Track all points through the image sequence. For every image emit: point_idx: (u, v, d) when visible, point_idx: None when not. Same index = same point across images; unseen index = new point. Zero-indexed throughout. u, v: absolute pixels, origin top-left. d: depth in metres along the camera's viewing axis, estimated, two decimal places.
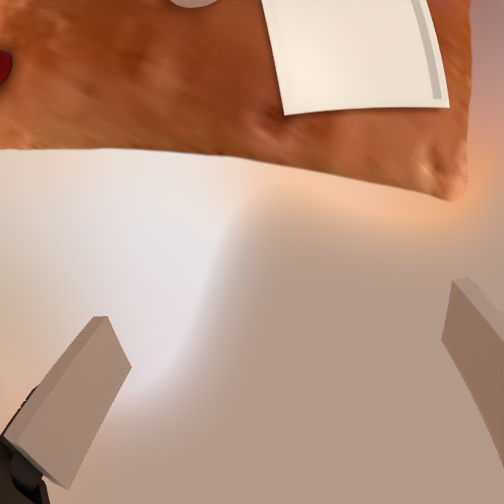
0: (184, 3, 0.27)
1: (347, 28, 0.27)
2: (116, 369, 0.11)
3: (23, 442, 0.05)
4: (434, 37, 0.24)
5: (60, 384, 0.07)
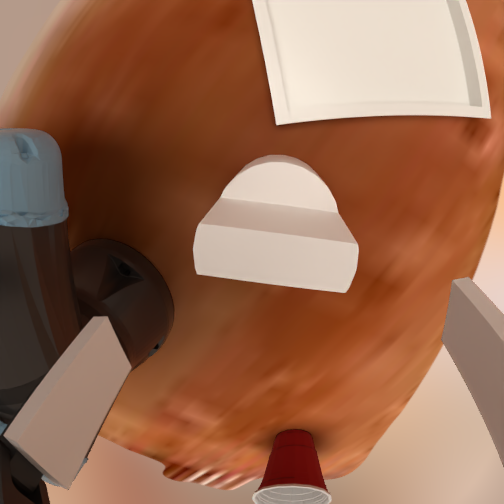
0: None
1: (369, 18, 0.19)
2: (116, 369, 0.11)
3: (23, 442, 0.05)
4: None
5: (60, 384, 0.07)
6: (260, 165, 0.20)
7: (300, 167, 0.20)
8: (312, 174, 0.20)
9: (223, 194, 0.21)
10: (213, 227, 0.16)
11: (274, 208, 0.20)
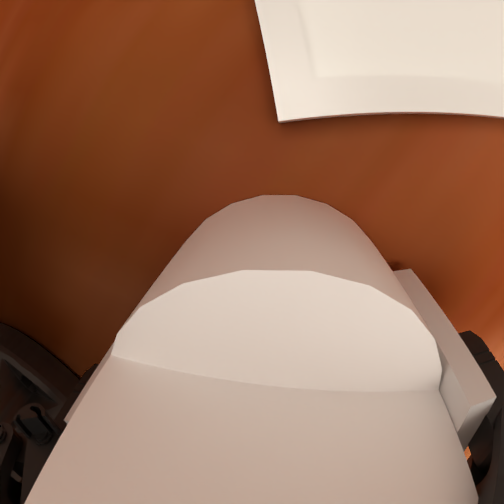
0: None
1: None
2: None
3: None
4: None
5: None
6: (216, 279, 0.06)
7: (364, 287, 0.05)
8: (399, 307, 0.05)
9: (116, 349, 0.07)
10: None
11: (266, 426, 0.05)
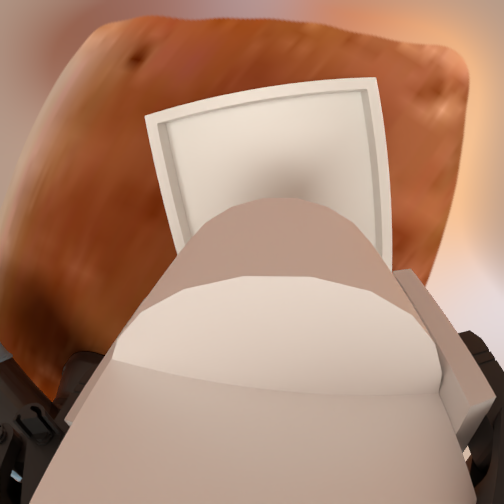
0: None
1: None
2: None
3: None
4: (271, 89, 0.22)
5: None
6: (216, 285, 0.06)
7: (365, 292, 0.05)
8: (400, 312, 0.05)
9: (117, 353, 0.07)
10: None
11: (265, 430, 0.05)
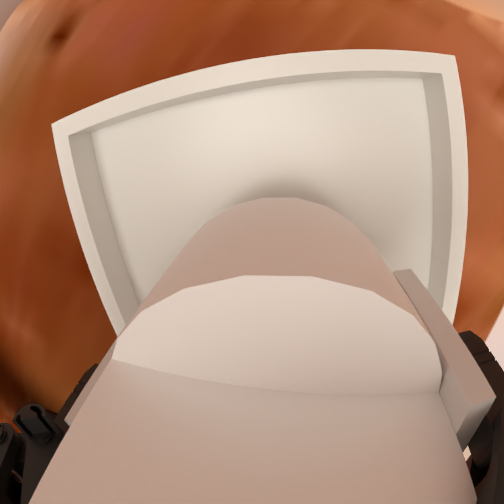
0: None
1: None
2: None
3: None
4: (265, 62, 0.11)
5: None
6: (216, 284, 0.06)
7: (365, 292, 0.05)
8: (400, 311, 0.05)
9: (117, 353, 0.07)
10: None
11: (266, 430, 0.05)
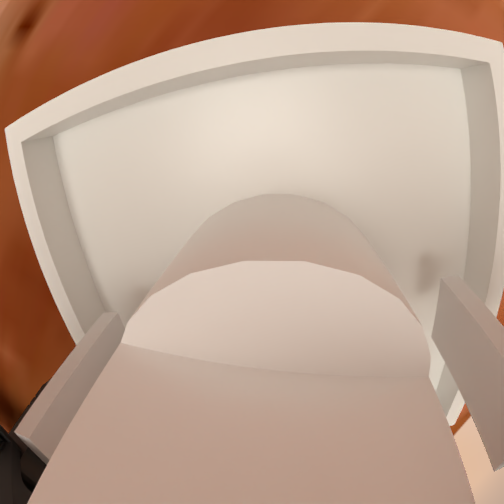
0: None
1: None
2: None
3: (35, 438, 0.05)
4: (264, 36, 0.07)
5: (72, 379, 0.08)
6: (220, 269, 0.06)
7: (354, 276, 0.06)
8: (387, 295, 0.06)
9: (126, 337, 0.07)
10: None
11: (265, 406, 0.06)
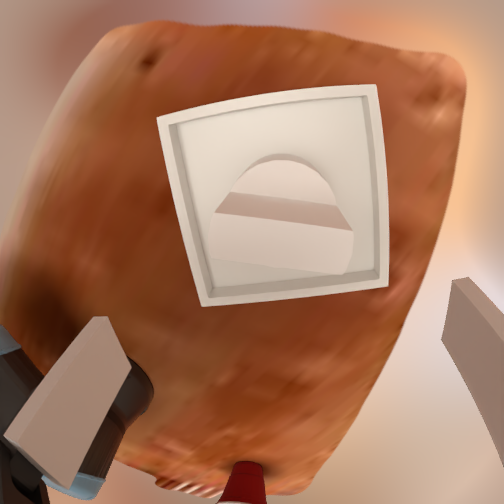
0: None
1: None
2: (116, 369, 0.11)
3: (23, 442, 0.05)
4: (276, 95, 0.24)
5: (60, 384, 0.07)
6: (266, 162, 0.23)
7: (302, 164, 0.22)
8: (313, 171, 0.23)
9: (233, 188, 0.24)
10: (226, 216, 0.18)
11: (279, 201, 0.23)
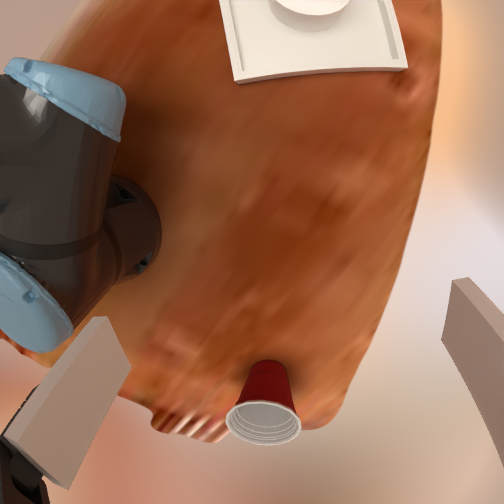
0: None
1: None
2: (116, 369, 0.11)
3: (23, 442, 0.05)
4: None
5: (60, 384, 0.07)
6: None
7: None
8: None
9: None
10: None
11: None
